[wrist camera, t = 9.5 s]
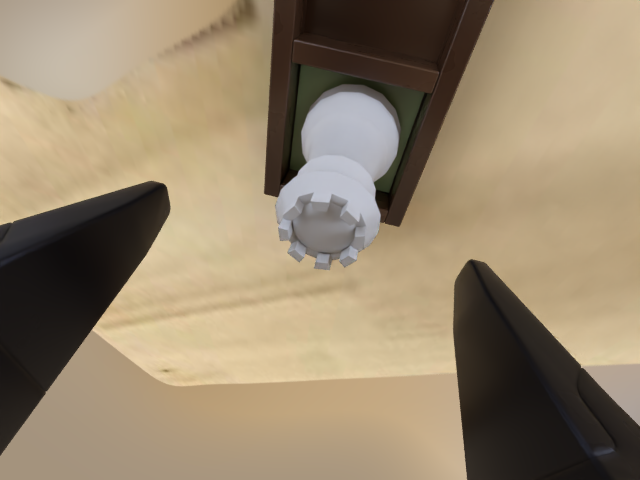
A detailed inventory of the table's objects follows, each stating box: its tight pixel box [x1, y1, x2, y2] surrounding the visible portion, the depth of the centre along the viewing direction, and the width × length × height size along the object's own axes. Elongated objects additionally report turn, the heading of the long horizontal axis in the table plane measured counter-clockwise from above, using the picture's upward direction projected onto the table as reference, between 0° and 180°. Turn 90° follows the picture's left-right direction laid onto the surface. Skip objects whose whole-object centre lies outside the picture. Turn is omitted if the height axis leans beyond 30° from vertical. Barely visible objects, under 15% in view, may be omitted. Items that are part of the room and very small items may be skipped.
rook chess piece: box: [275, 84, 401, 270], centre depth 12 cm, size 4×4×8 cm
